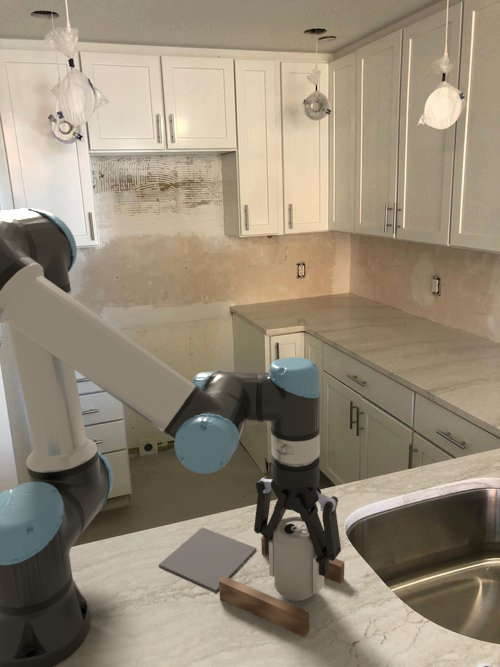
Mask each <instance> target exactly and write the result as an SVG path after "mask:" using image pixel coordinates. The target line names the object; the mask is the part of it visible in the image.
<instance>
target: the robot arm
mask: <svg viewBox="0 0 500 667" xmlns="http://www.w3.org/2000/svg"><path fill="white" fill-rule="evenodd" d="M76 259H77V243H76V240H75V237H74V235H73V233H72V231H71V230H70V228H69V227H68V226H67V224H66V223H65V222H64V221H63V220H62V219H60V218H59V217H58V216H57V215H55V214H54V213H52V212H49V211H46V210H43V209H38V208H36V209H35V208H25V207H24V208H23V207H20V208H16V209H7V210H0V324H6V323H7V324H8V330H9V333H10V339H11V343H12V348H13V354H14V357H15V363H16V369H17V373H18V374H17V375H18V378H19V383H20V388H21V389H20V390H21V393H22V394H21V395H22V399H23V403H24V404H23V405H24V409H25V413H26V414H25V415H26V419H27V424H28V429H29V430H28V431H29V434H30V439H31V445H32V448H33V450H32V451H31V452H30V454H29V455H28V456H27V458H26V461H25V463H26V469H27V474H28V479H29V482H24V483H23V482H22V483H20V484H17V485H14V486H13V488H11V489H5V490H4V491H2V492H0V667H54V666H55V665H57V664H59V663H61V662H63V661H64V660H66V659H67V658H69V656H71V655H72V654H73V653H74V652H75V651H76V650H77V649H78V648H79V647H80V646H81V645H82V643H83V642H84V641H85V638H86V637H87V635H88V633H89V631H90V630H89V629H90V626H91V616H90V610H89V605H88V601H87V600H86V599H85V596H84V595H83V593H82V592H81V590H80V588H79V587H78V585H77V584H76V582H75V580H74V578H73V572H72V565H71V557H70V551H71V549H72V547H73V546H74V544H75V543H76V542H77V540H79V538H80V537H81V535H82V534H83V533H84V531H85V530H86V529H87V528H88V527H89V525H90V523H91V522H92V521H93V520H94V518H95V517H96V516H97V515H98V513H99V512H100V511H101V510H102V508H103V507H104V506H105V504H106V503H107V500H108V498H109V497H110V494H111V492H112V489H113V486H114V472H113V469H112V466H111V462H110V461H109V460H108V458H107V457H105V456H103V455H102V452H101V451H100V450H98V446H97V443H96V442H95V441H93V440H91V439H89V438H88V437H87V435H86V428H85V424H84V417H83V411H82V405H81V404H82V403H81V400H80V393H79V387H78V380H77V377H76V372H77V373H78V374H80V375H81V376H83V377H84V378H86V379H87V380H89V382H92V383H93V384H94V385H96V386H97V387H98V388H100V389H102V390H103V391H104V392H105V393H107V394H108V395H109V396H111V397H112V398H114V399H116V400H117V401H118V402H120V403H121V404H122V405H124V406H125V407H127V408H128V409H130V410H131V411H133V412H134V413H135V414H136V415H139V416H140V417H141V418H142V419H144V420H145V421H147V422H148V423H150V424H151V425H153V426H154V427H155V428H157V429H158V430H160V432H162V433H164V434H166V436H168V437H169V438H170V439H172V440H173V441H174V443H173V446H174V451H175V452H174V453H175V456H177V459H179V461H180V463H181V464H182V465H183V467H185V468H186V469H188V470H189V471H192V472H193V473H197V474H206V475H207V474H213V473H215V472H216V473H217V472H218V471H220V470H222V469H223V468H224V467H225V466H227V465H228V463H229V462H230V460H231V459H232V455H234V454H235V452H236V451H237V449H238V445H239V443H240V439H241V436H242V432H243V431H244V429H245V425H246V424H247V422H252V423H266V422H267V423H268V422H269V423H270V434H271V435H270V436H271V437H270V438H271V439H270V440H271V442H270V443H271V444H270V445H271V478H269V476H267V475H264V476H263V477H262V478H261V479H260V480H258V481H257V482H256V483H255V488H256V493H257V498H256V499H257V500H256V506H255V507H256V509H255V518H254V525H253V531H254V532H255V534H258V535H259V534H260V535H262V536H263V537H264V539H265V552H266V554H267V555H269V556H268V565H269V566H268V567H269V568H268V570H269V571H268V572H269V574H268V575H269V576H271V577H273V578H274V539H273V534H274V531H275V529H276V528H277V525H278V523H279V522H280V521H281V520H282V519H284V515H285V514H286V511H288V510H289V511H293V512H295V513H297V514H299V515H300V517H301V519H302V521H304V522H305V524H306V527H307V530H308V532H309V535H310V538H311V541H312V543H313V546H314V549H315V552H316V555H315V556H314V558H313V593H314V595H318V594H319V593H320V591H321V590H322V588H324V586H325V578H324V576H325V575H326V574H327V572H328V571H329V560H331V561H334V560H335V559H337V557H338V555H339V554H340V553H341V551H342V547H341V546H342V545H341V538H340V532H339V524H338V516H337V506H338V503H339V498H338V497H337V496H334V495H331V497H329V496H327V495H325V494H323V493H322V490H321V488H320V485H319V484H320V458H319V456H320V454H321V452H320V451H321V450H320V449H321V448H320V447H321V444H320V443H321V442H320V424H321V422H320V418H321V409H320V408H321V387H320V386H321V385H320V371H319V367H318V365H317V364H316V363H315V362H314V361H312V360H310V359H308V358H304V357H297V356H296V357H294V356H293V357H292V356H291V357H286V358H285V357H283V358H279V359H276V360H273V361H272V362H271V364H269V370H268V372H241V371H240V372H239V371H237V372H235V371H223V370H215V371H214V370H213V371H203V372H202V371H201V372H199V373H197V374H196V375H195V376H194V377H193V379H192V382H191V381H190V380H189V379H188V378H185V376H183V375H182V374H180V373H179V372H177V370H175V369H173V368H172V367H170V366H169V365H168V364H166V363H165V362H163V361H162V360H160V358H158V357H156V356H155V355H154V354H152V353H151V352H150V351H148V350H147V349H146V348H144V347H143V346H141V345H140V344H138V343H137V342H136V341H134V340H133V339H131V338H130V337H128V336H127V335H126V334H124V333H123V332H121V331H120V330H119V329H118V328H116V327H115V326H113V325H112V324H110V322H107V321H106V320H105V319H104V318H102V317H100V316H99V315H98V314H96V313H95V312H94V311H93V310H90V309H89V308H88V307H87V306H86V305H84V304H82V303H81V302H80V301H79V300H77V299H75V298H74V297H73V296H71V293H72V287H71V281H70V276H69V273H70V272H71V270H72V268H73V266H74V265H75V262H76ZM272 492H274V494H275V496H276V499H277V500H276V502H275V505H274V507H273V511H272V514H271V517H270V518H269V516H270V514H269V513H270V506H271V498H272ZM317 502H318V503H319V504H320V512H322V516H321V517H322V522H321V519H320V517H319V509H318V505H317Z"/></svg>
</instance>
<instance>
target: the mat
mask: <svg viewBox="0 0 500 667" xmlns="http://www.w3.org/2000/svg"><path fill="white" fill-rule="evenodd" d="M256 551H257V547H255V546H252V545H250V544H247V543H244V542H241V541H239V540H236V539H234V538H232V537H229V536H226V535H224V534H221V533H218V532H216V531H213V530H211V529H207V528H205V527H201V528H199V529H198V530H197V531H196V532H195V533H194V534H193V535H191V536H190V537H189V538H188V539H187V540H186V541H184V542H183V543H182V544H181V545H180V546H179V547H176V549H175V550H174V551H173V552H171V553H170V554H169V555H168V556H167V557H166V558H165V559H164V560H162V561H161V562H160V563H159V564H158V567H159V568H162V569H165V570H167V571H169V572H172V573H173V574H175V575H177V576H180V577H182V578H184V579H186V580H189V581H191V582H194V583H196V584H198V585H200V586H202V587H204V588H206V589H208V590H211V591H213V592H215V593H217V592H218V591H219V581H220V580H221V579H222V577H223V576H225V577H228V578H230V579H231V577H232V576H233V575H234V574H235V573H236V572H237V571H238V570H239V569H240V567H241V566H243V564H245V562H247V560H248V559H249V558H250V557H251V556H252V555H253V554H254V553H255V552H256Z"/></svg>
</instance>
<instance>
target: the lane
mask: <svg viewBox="0 0 500 667" xmlns="http://www.w3.org/2000/svg"><path fill="white" fill-rule="evenodd" d="M260 539H261V540H260V541H261V542H260V543H261V554H262V555H264V556H266V557H269V555H267V554H266V552H265V539H264V537H263V535H262V536H261V538H260ZM324 579H327V580H329V581H332V582H333V583H337V584H339V585H341V584H342V583H343V582H344V580H345V561H344V560H340V559H338V558H335V560H334V561H331V560H329V571H328V572H327V574H326V575H325V576H324ZM218 591H219V600H221V601H224V602H226V603H228V604H230V605H232V606H235V607H237V608H239V609H241V610H243V611H246V612H247V613H250V614H252V615H254V616H256V617H258V618H261V619H263V620H265V621H268V622H269V623H271V624H274V625H276V626H278V627H281V628H283V629H285V630H287V631H289V632H291V633H294V634H296V635H297V636H300V637H303V638H306V636H308V634H309V632H310V612H309V611H307V610H305V609H302V608H301V607H297V606H296V605H294V604H291V603H288V602H286V601H284V600H281V599H279V598H277V597H274V596H272V595H270V594H267V593H265V592H262V591H261V590H258V589H257V588H256V589H255V588H253V587H251V586H248V585H246V584H244V583H242V582H240V581H237V580H235V579H233V578H231V577H230V578H228V577H225V576H223V577H222V579H221V580H220V581H219V590H218Z"/></svg>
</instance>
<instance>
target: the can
mask: <svg viewBox="0 0 500 667" xmlns="http://www.w3.org/2000/svg"><path fill="white" fill-rule="evenodd" d="M273 539H274V577H273V578H274V583H273V584H274V586H273V587H275V590H276V592H277V593H278V594H280V595H281V596H282V597H284V598H285V599H287V600H289V601H294V602H297V601H298V602H299V601H304V600H307V599H309V598H311V597H313V596H314V595H315V594H314V593H313V558H314V556H315V555H316V552H315V549H314V546H313V543H312V541H311V538H310V535H309V532H308V530H307V527H306V524H305V522H304V521H302V519H301V516H298V515H297V516H296V515H291V516H287V517H285V518H284V517H283V518H282V520H281V521H280V522H279V523H278V525H277V528H276V529H275V531H274V534H273Z"/></svg>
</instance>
